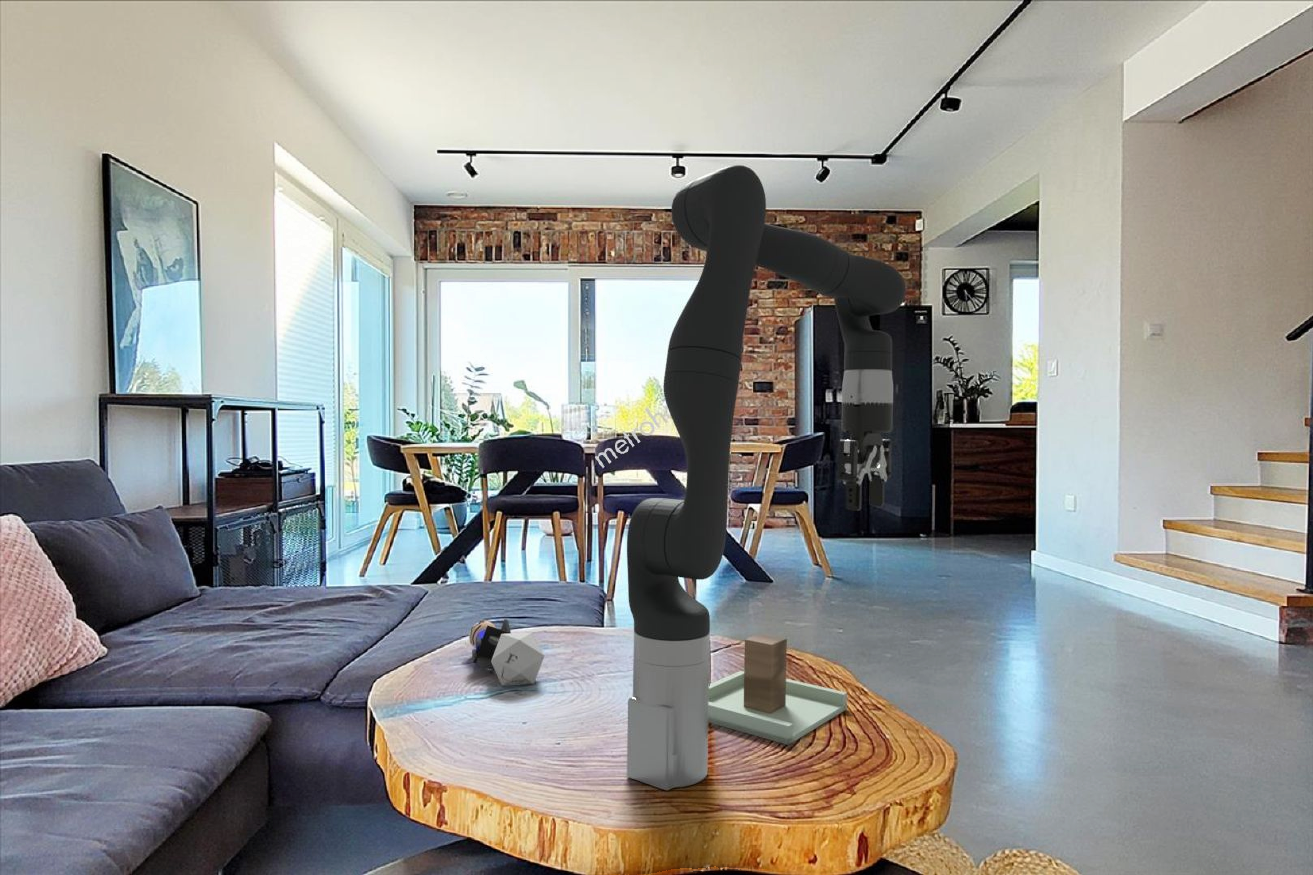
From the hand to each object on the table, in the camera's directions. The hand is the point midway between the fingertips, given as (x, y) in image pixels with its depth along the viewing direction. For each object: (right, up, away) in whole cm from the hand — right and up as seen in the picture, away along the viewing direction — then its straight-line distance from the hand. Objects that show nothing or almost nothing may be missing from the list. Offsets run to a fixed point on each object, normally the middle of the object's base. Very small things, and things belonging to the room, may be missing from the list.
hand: (865, 507), depth 125 cm
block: (-16, -29, -3) cm, 33 cm away
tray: (-16, -30, -3) cm, 34 cm away
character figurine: (-61, -29, +19) cm, 70 cm away
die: (-54, -29, +9) cm, 62 cm away
